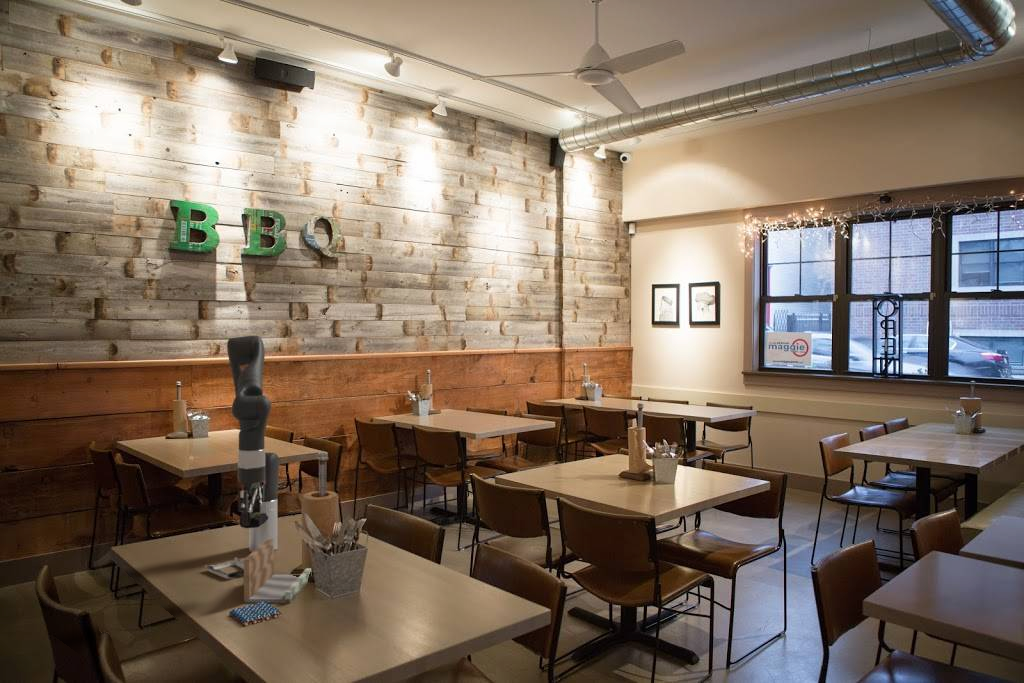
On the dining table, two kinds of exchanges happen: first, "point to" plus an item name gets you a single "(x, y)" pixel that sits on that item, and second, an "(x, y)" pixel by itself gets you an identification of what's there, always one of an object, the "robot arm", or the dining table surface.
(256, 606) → the woven mat
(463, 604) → the dining table surface
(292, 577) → the cleat board
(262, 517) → the tape measure
